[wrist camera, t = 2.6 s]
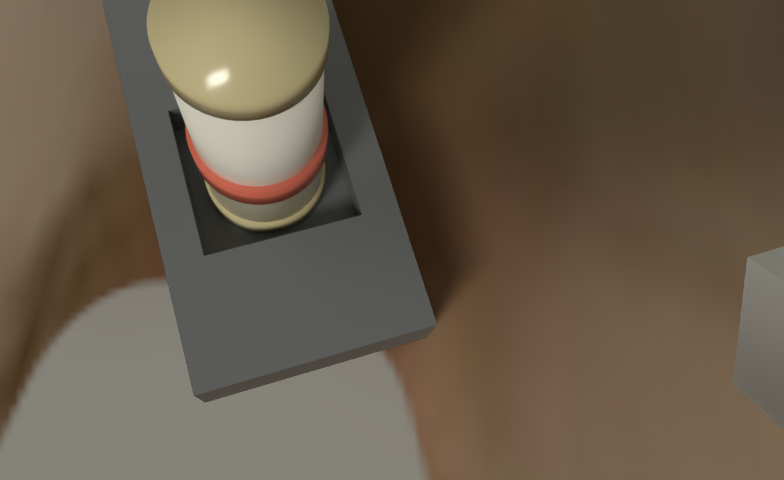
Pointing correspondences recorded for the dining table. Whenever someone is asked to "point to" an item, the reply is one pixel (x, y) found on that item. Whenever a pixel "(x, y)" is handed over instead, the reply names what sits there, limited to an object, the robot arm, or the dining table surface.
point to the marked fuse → (250, 101)
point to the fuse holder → (273, 239)
